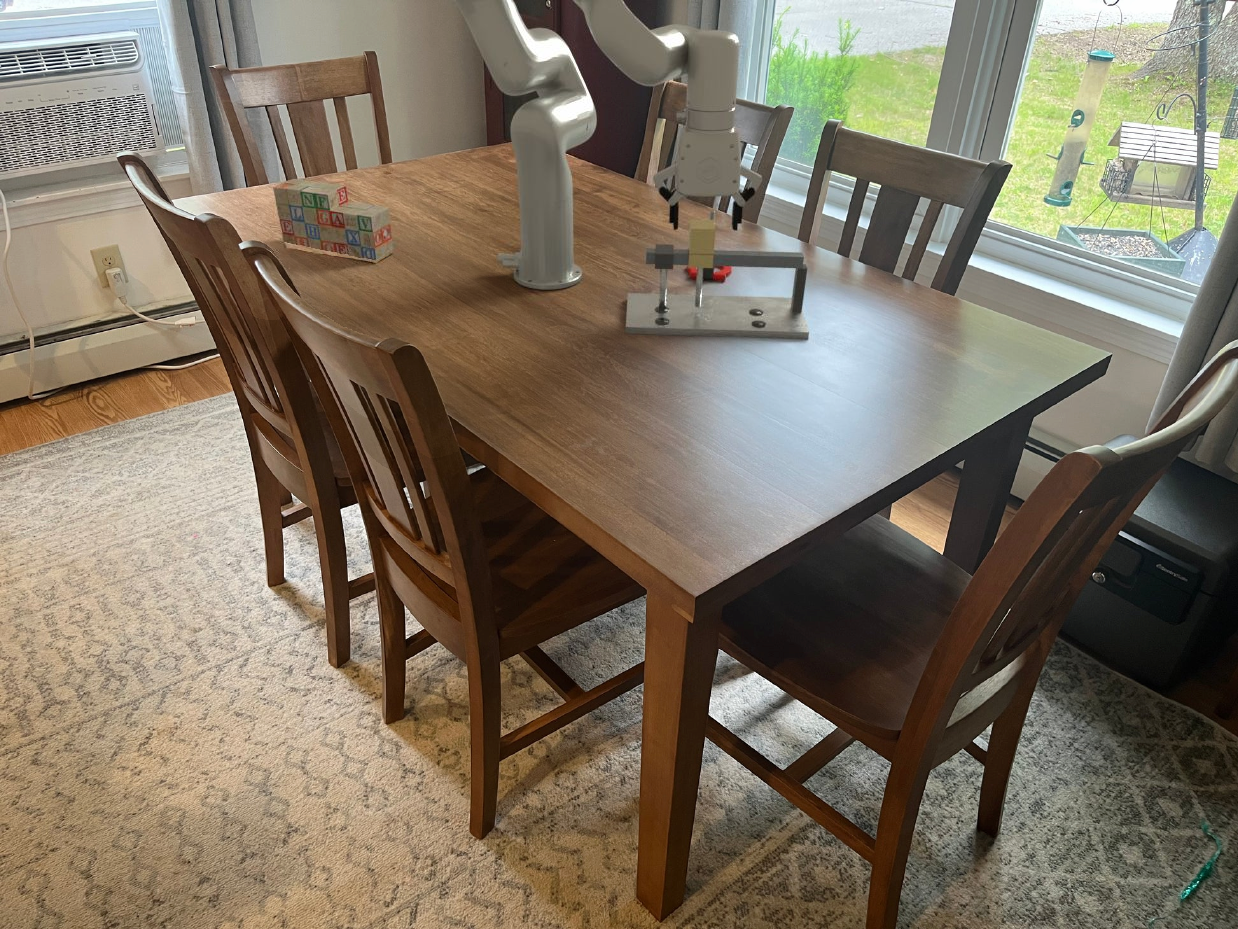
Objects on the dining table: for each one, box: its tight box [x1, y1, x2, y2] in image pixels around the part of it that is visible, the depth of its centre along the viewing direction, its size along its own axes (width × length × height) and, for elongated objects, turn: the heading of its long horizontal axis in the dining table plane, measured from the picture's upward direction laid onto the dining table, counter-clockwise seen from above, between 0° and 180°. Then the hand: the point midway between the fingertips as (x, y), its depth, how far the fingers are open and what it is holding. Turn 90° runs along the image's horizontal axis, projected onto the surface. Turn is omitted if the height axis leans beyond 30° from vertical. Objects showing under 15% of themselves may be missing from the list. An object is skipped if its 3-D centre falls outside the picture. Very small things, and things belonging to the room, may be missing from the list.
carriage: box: [687, 219, 716, 307], centre depth 160 cm, size 4×4×14 cm
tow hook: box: [686, 210, 733, 282], centre depth 177 cm, size 8×13×9 cm
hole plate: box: [625, 292, 810, 340], centre depth 162 cm, size 30×14×1 cm, turn 88°
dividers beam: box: [645, 243, 808, 312], centre depth 161 cm, size 27×5×10 cm, turn 88°
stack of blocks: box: [273, 178, 394, 260], centre depth 183 cm, size 21×6×12 cm, turn 69°
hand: (704, 227), depth 156 cm, fingers open, 9 cm apart
